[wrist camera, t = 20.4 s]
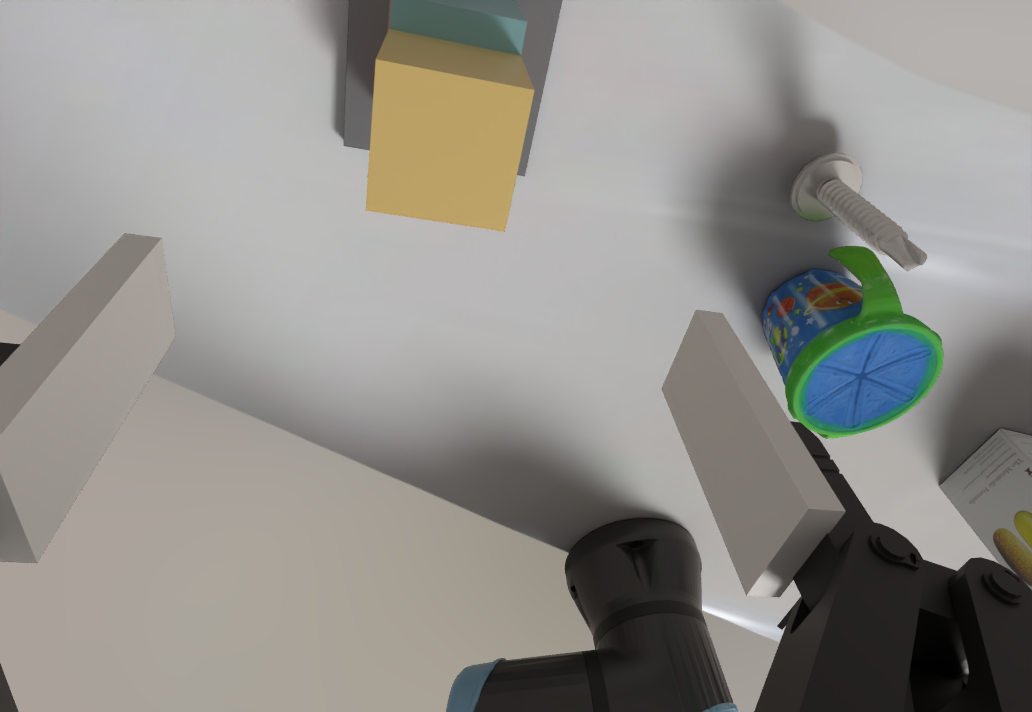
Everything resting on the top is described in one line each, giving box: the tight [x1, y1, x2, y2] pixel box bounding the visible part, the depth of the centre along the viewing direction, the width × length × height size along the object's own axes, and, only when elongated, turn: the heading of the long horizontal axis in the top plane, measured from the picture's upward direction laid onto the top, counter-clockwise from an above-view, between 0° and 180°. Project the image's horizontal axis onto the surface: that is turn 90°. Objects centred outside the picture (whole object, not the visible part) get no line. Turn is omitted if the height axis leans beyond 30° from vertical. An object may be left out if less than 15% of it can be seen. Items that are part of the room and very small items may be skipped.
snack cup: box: [762, 246, 944, 439], centre depth 48 cm, size 16×11×10 cm
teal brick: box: [389, 0, 527, 56], centre depth 32 cm, size 6×6×6 cm
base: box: [344, 0, 562, 176], centre depth 37 cm, size 12×12×5 cm
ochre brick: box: [366, 29, 535, 232], centre depth 28 cm, size 6×6×6 cm
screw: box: [790, 153, 927, 271], centre depth 40 cm, size 13×5×5 cm
